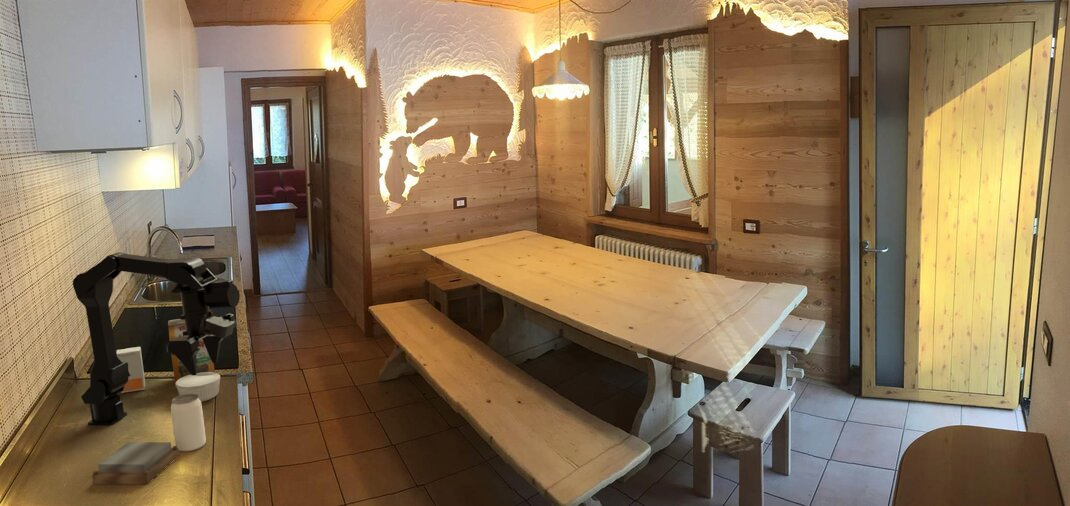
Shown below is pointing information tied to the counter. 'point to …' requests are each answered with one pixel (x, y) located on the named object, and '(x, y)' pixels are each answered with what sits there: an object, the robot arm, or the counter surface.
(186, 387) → the ramekin
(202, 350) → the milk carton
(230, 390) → the counter surface
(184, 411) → the can
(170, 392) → the counter surface
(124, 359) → the skincare box
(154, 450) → the whetstone on wooden base
